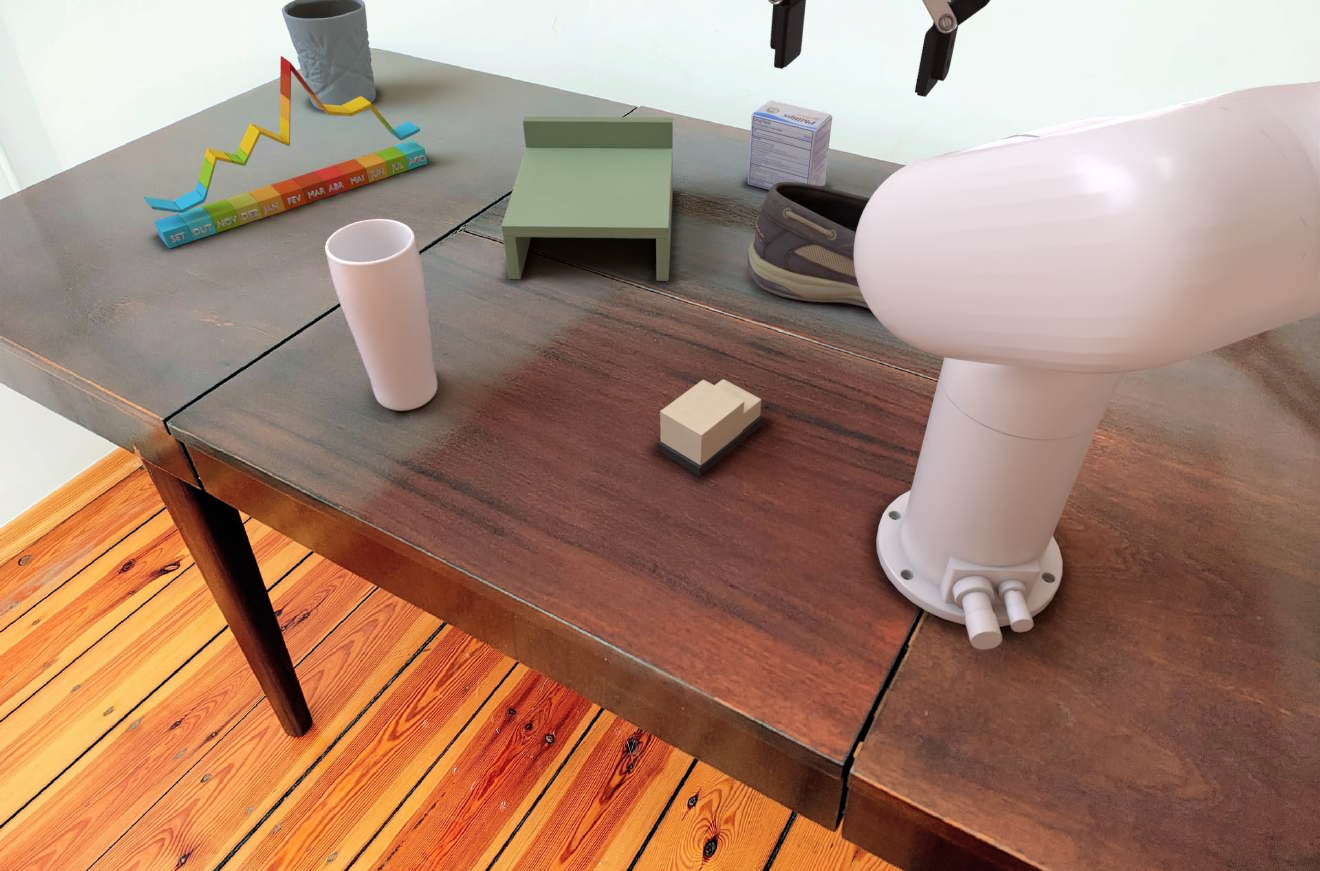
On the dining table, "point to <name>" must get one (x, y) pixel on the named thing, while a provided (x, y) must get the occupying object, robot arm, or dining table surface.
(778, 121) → the medicine box
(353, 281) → the drinking glass
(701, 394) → the tan two-tone block
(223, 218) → the chart
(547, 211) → the shelf
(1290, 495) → the dining table surface
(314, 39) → the gray embossed pot
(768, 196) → the boat shoe
